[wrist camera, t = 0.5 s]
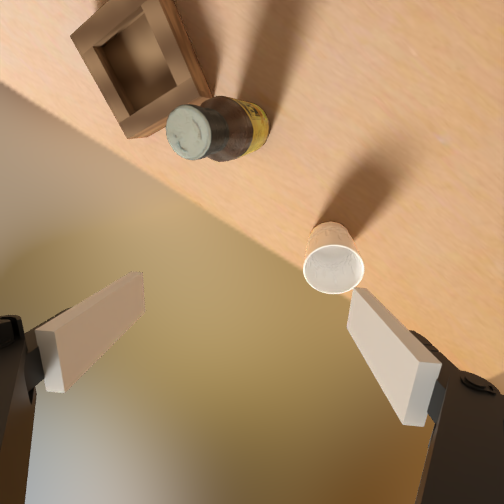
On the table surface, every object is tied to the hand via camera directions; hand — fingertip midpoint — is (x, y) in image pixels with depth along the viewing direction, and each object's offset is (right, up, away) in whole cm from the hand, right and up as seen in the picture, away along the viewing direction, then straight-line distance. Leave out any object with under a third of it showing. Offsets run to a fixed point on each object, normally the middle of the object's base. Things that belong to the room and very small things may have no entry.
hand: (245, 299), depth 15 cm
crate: (-13, +29, +20) cm, 38 cm away
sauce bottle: (0, +21, +21) cm, 30 cm away
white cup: (+14, +5, +27) cm, 30 cm away
